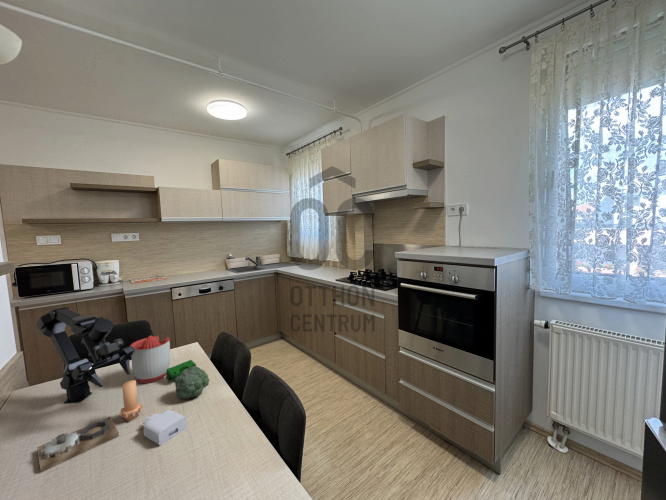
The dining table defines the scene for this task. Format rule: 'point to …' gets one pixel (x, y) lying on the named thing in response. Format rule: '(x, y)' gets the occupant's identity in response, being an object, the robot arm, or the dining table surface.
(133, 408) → the gear spindle
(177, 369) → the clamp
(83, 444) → the gear board
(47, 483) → the dining table surface
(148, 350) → the citrus juicer
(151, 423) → the charger
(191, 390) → the vegetable
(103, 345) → the robot arm
